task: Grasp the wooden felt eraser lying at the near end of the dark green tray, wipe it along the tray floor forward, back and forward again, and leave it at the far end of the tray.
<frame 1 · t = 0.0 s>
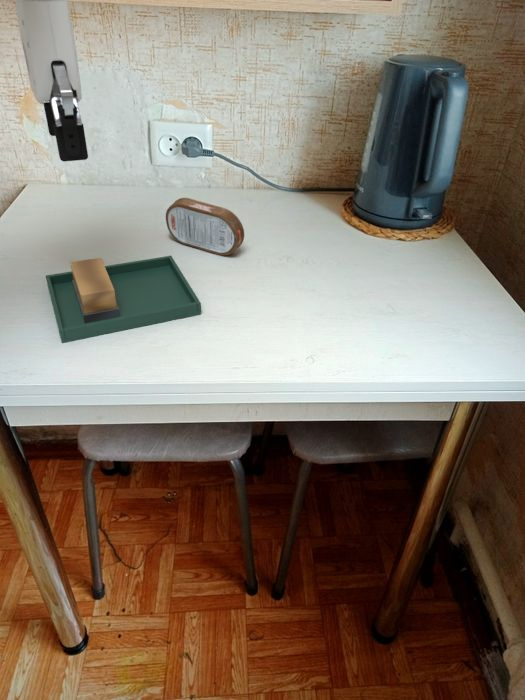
hand: (68, 146, 64), 23 cm above the table, tool pointing down, fingers open, 9 cm apart
tin: (203, 249, 94), on the table
tray: (123, 300, 79), on the table
eraser: (96, 301, 77), point 1 cm above the table, touching tray
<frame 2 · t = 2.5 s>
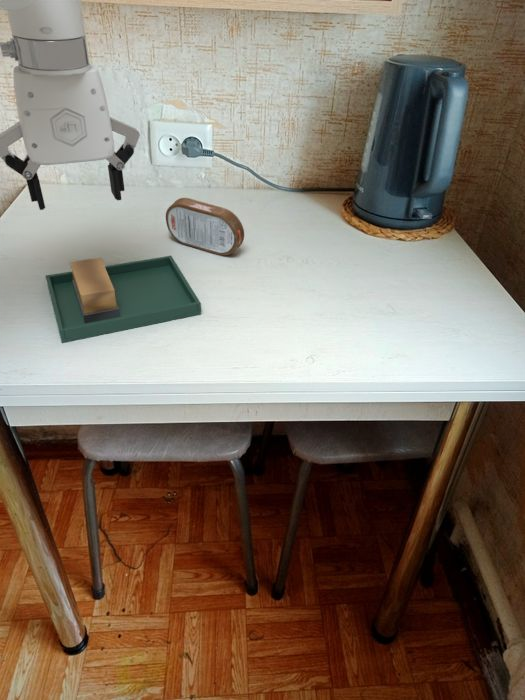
hand: (79, 200, 67), 16 cm above the table, tool pointing down, fingers open, 9 cm apart
nothing on the table moved.
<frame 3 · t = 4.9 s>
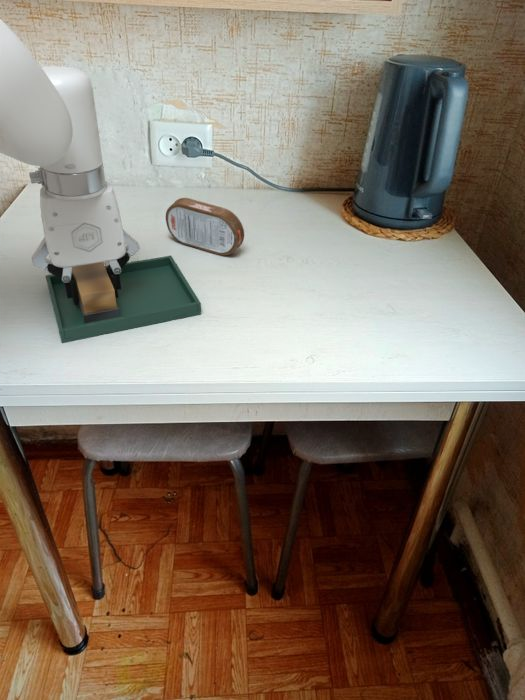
hand: (95, 295, 76), 2 cm above the table, tool pointing down, fingers closed on eraser, 5 cm apart
eraser: (96, 301, 77), point 1 cm above the table, touching gripper, tray
everything else where it was.
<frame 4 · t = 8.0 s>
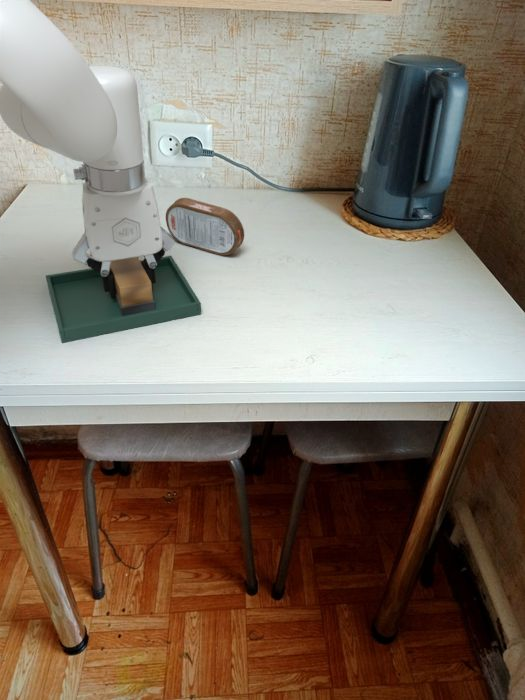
hand: (130, 289, 78), 2 cm above the table, tool pointing down, fingers closed on eraser, 5 cm apart
eraser: (131, 295, 79), point 1 cm above the table, touching gripper
everything else where it was.
when the fingers open (2 cm above the table, at t = 11.3 s): eraser stays where it is, resting on tray.
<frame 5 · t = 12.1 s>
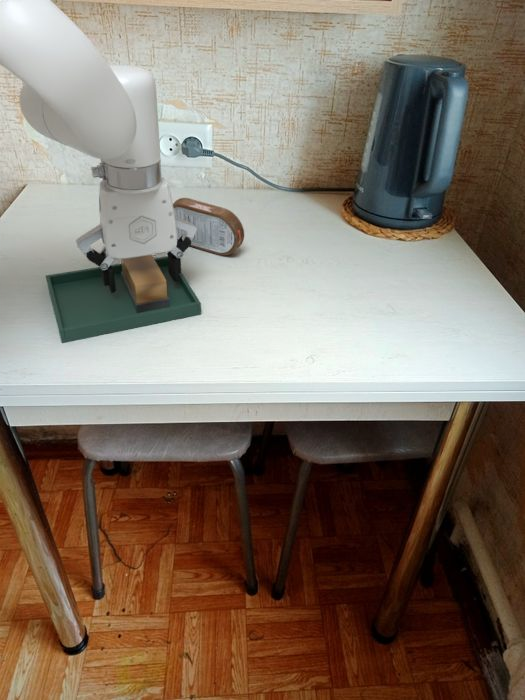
hand: (143, 282, 78), 3 cm above the table, tool pointing down, fingers open, 9 cm apart
eraser: (145, 292, 80), point 1 cm above the table, touching tray
everything else where it was.
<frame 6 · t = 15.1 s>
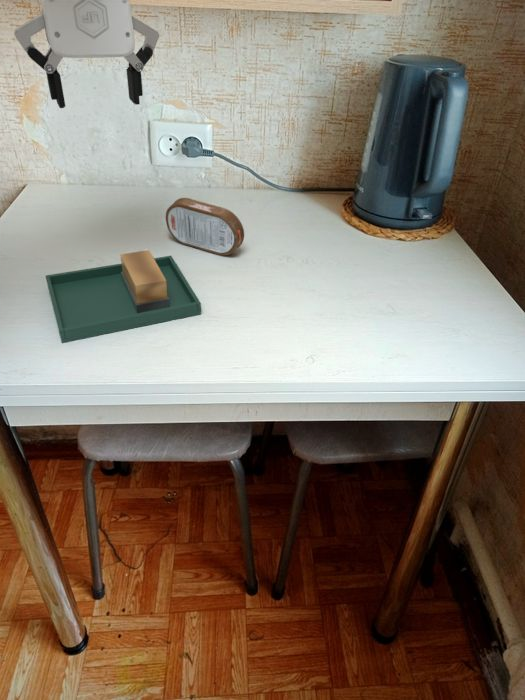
hand: (98, 103, 68), 26 cm above the table, tool pointing down, fingers open, 9 cm apart
nothing on the table moved.
at the end: eraser 0.8 cm from the target spot in the tray, point 0.6 cm above the tray's base; eraser moved 7.5 cm from its start; eraser tilted 0° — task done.
